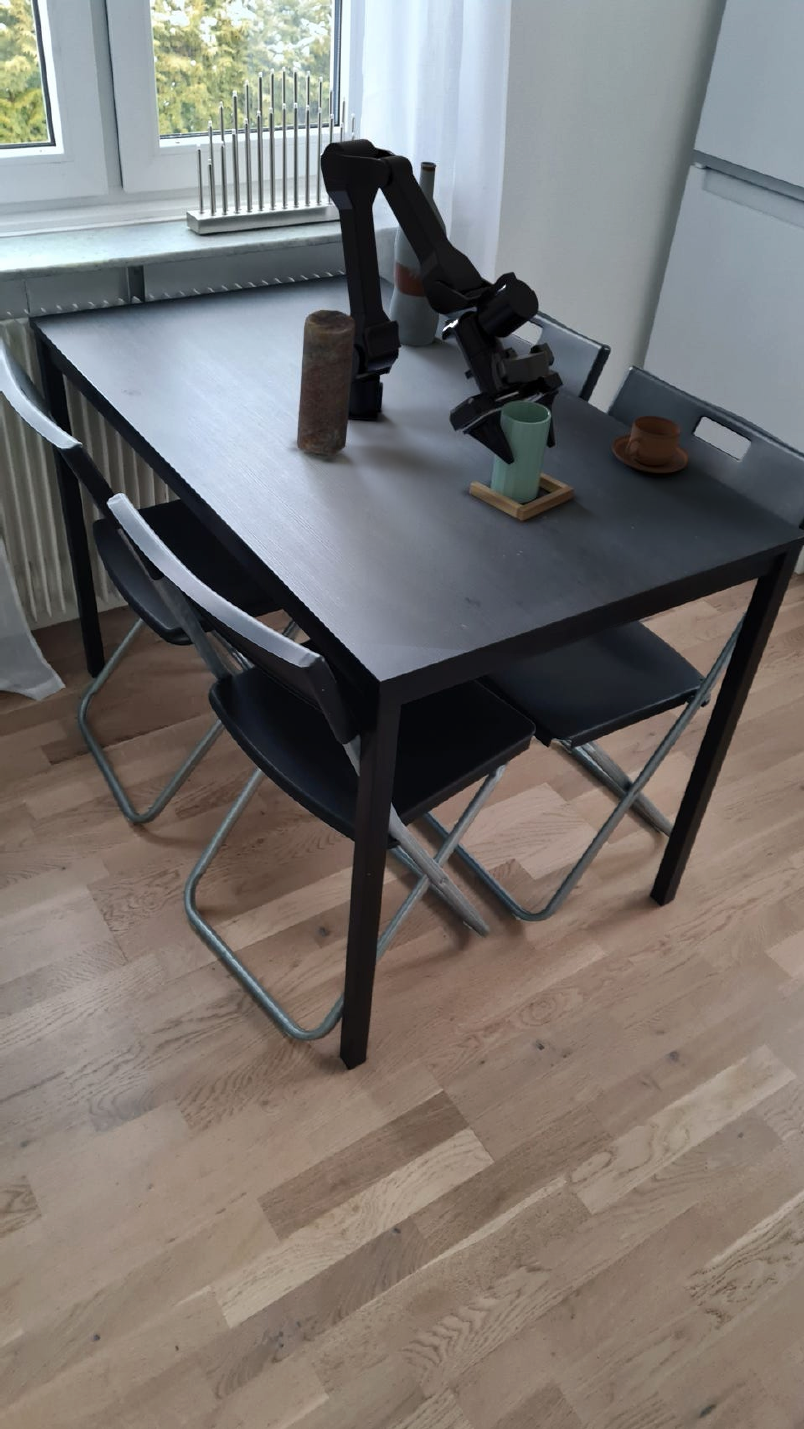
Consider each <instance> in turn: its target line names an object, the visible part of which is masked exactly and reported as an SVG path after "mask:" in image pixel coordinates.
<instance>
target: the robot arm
mask: <svg viewBox="0 0 804 1429" xmlns="http://www.w3.org/2000/svg"><path fill="white" fill-rule="evenodd" d="M319 162H320V163H319V164H320V170H321V175H322V180H323V184H324V188H325V193H326V195H327V196H328V197H329V198H330V200H331V201H332V203H333V204H334V206H335V207H336V209H337V211H338V217H339V225H340V226H339V227H340V233H341V243H342V250H343V251H342V252H343V260H344V269H345V277H346V278H345V279H346V286H347V294H348V303H349V316H351V317H352V318H353V319H354V322H355V334H354V346H353V358H352V369H351V382H350V397H349V410H348V419H354V420H365V421H378V420H379V414H381V413H382V408H383V396H384V395H383V394H384V383H383V381H381V376H383V375H388V374H390V372H391V370H392V368H393V365H394V364H395V362H396V361H397V360H398V359H399V356H400V348H402V343H400V340H399V325H398V323H397V321H396V320H394V321H390V319H389V315H388V314H387V313H386V312H385V310H384V307H383V297H382V290H381V289H382V288H381V278H380V269H379V268H380V267H379V259H378V258H379V257H378V249H377V239H376V230H375V220H374V210H373V208H374V203H375V201H376V198H377V195H378V193H379V190H380V191H381V193H382V195H383V196H384V198H385V201H386V203H387V205H388V206H389V208H390V210H391V212H392V213H393V215H394V217H395V220H396V221H397V224H398V225H400V227H401V228H402V230H403V232H404V234H405V236H406V238H407V240H408V242H409V243H410V245H411V247H412V249H413V251H414V253H415V255H416V257H417V259H418V261H419V264H420V282H421V285H422V288H423V290H424V293H425V295H426V298H427V301H428V303H429V305H430V307H431V308H432V310H433V311H434V312H436V313H439V315H443V316H445V315H451V314H454V313H457V312H461V311H464V310H468V311H465V312H464V313H462V314H461V315H460V316H459V317H452V318H448V319H446V320H445V321H444V328H443V330H442V332H441V340H442V341H448V340H452V339H454V340H455V342H456V345H457V346H458V348H459V351H460V352H461V355H462V357H463V359H464V361H465V363H466V365H467V368H468V369H467V370H466V371H464V372H463V374H464V376H465V378H466V380H470V379H473V380H474V382H475V384H476V387H477V388H478V391H479V393H477V394H475V395H471V396H469V397H468V398H466V399H465V400H463V401H462V402H460V403H459V404H457V405H456V406H455V407H454V408H452V409H451V410H450V411H449V419H448V420H449V422H450V424H451V426H452V428H453V430H454V432H458V431H461V430H462V431H461V432H462V434H463V435H465V436H466V435H469V437H472V438H473V439H475V441H477V442H478V443H480V444H481V445H483V446H484V447H485V448H487V449H488V450H490V452H492V453H493V454H494V455H495V454H496V455H497V456H498V457H499V458H501V459H502V460H503V461H504V462H506V463H507V464H508V465H510V464H512V463H513V462H514V457H513V454H512V451H511V448H510V446H509V444H508V441H507V439H506V437H505V434H504V432H503V430H502V427H501V408H502V407H503V406H504V404H506V403H509V402H512V401H530V402H534V403H538V404H540V405H543V406H545V407H546V408H547V409H548V410H549V411H550V412H551V421H550V427H549V433H548V438H547V444H546V447H547V448H549V449H552V448H553V447H555V446H556V438H555V427H554V418H553V405H554V402H555V398H556V396H557V395H559V393H560V389H559V388H561V387H562V386H564V383H563V381H562V378H561V376H560V374H559V372H558V371H555V370H553V369H550V367H552V366H553V365H554V363H555V356H554V354H553V351H552V349H551V348H550V345H548V343H547V342H543V343H542V342H541V343H537V344H534V345H532V346H531V347H530V349H529V353H526V354H522V355H518V353H517V351H516V350H515V349H514V348H513V347H507V348H506V347H505V345H504V343H503V341H502V339H505V338H508V337H509V336H510V335H512V334H513V333H515V332H516V331H517V330H519V329H520V328H521V327H523V326H524V325H525V324H526V323H527V322H529V321H531V320H532V319H533V318H535V317H536V316H537V314H538V312H539V310H540V309H539V307H540V306H539V305H540V304H539V303H540V302H539V299H538V296H537V294H536V291H535V290H533V289H532V288H531V286H529V285H528V284H527V283H526V282H525V281H523V280H521V279H519V278H518V277H517V276H516V273H515V272H514V271H509V272H505V273H503V274H501V275H500V276H499V277H498V278H497V279H496V280H495V282H494V283H492V282H490V281H489V280H487V279H485V277H483V276H482V275H481V274H480V272H479V270H478V268H476V267H475V265H474V264H473V262H472V261H471V260H470V258H469V257H468V256H467V255H466V254H465V253H463V252H462V251H461V250H460V249H457V248H456V247H455V246H454V245H453V244H452V243H451V241H450V240H449V238H448V235H447V236H446V234H445V233H444V231H443V229H442V227H441V225H440V223H439V221H438V219H437V218H436V216H435V214H434V212H433V210H432V208H431V206H430V204H429V203H428V201H427V199H426V197H425V195H424V193H423V191H422V189H421V188H420V186H419V181H418V180H417V178H416V176H415V174H414V169H413V168H414V167H413V164H412V162H411V161H410V159H409V158H408V157H406V156H404V155H399V154H395V153H394V152H393V151H391V150H388V149H384V148H380V147H376V146H375V145H374V144H373V143H372V141H370V140H369V139H367V138H359V139H350V140H341V141H335V142H333V141H332V142H330V143H328V144H327V145H326V146H325V148H324V150H323V152H322V153H321V154H320V160H319ZM472 308H475V309H476V310H469V309H472Z"/></svg>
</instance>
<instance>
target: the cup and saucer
mask: <svg viewBox="0 0 804 1429" xmlns="http://www.w3.org/2000/svg"><path fill="white" fill-rule="evenodd" d="M681 432H682V428H681V426H680V425H679V424H678V423H677V422H675V421H674V420H672V419H669V418H666V417H662V416H657V415H641V416H638V417H636V418H634V420H633V422H632V427H631V432H630V434H627V435H623V436H619V437H618V438H616V439H615V440H614V441H613V443H612V452H613V454H614V456H616V458H617V459H618V460H619V461H620V462H621V463H623V464H624V465H626V466H628V467H630V468H632V469H633V470H634V469H635V470H638V471H641V472H645V473H649V474H671V473H675V472H678V471H680V470H682V469H684V468H686V467H687V465H688V464H689V462H690V454H689V452H688V451H687V450H686V449H685V448H684V447H683V446H681V445H680V444H678V443H679V440H680V436H681V434H682V433H681Z"/></svg>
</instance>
